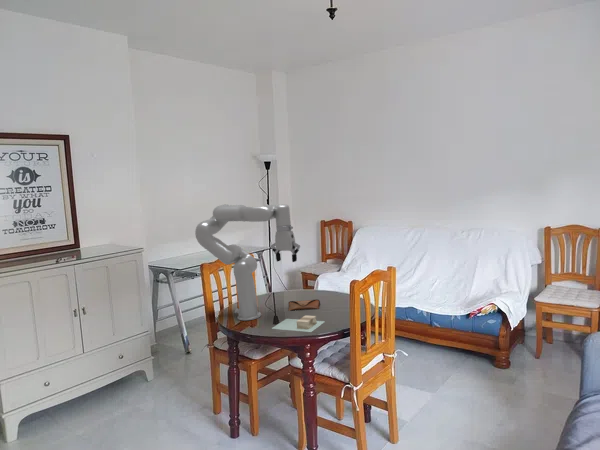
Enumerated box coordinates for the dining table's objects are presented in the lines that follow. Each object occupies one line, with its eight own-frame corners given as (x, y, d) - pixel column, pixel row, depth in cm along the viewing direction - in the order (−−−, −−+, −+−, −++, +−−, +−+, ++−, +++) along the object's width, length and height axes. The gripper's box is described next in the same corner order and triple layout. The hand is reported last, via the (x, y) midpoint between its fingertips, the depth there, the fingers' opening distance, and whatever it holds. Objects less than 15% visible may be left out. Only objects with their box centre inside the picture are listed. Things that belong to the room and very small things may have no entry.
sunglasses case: (287, 311, 251) (286, 299, 253) (288, 314, 257) (288, 302, 260) (320, 308, 249) (319, 296, 252) (321, 312, 256) (320, 300, 258)
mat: (271, 329, 224) (271, 328, 224) (286, 319, 237) (286, 318, 237) (311, 332, 213) (311, 332, 213) (325, 322, 226) (325, 321, 226)
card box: (305, 322, 228) (305, 315, 228) (316, 323, 225) (316, 316, 225) (297, 328, 220) (296, 321, 220) (308, 329, 218) (307, 322, 217)
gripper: (301, 227, 236) (304, 260, 238) (273, 227, 245) (276, 259, 247) (294, 229, 230) (297, 263, 232) (265, 229, 239) (268, 262, 241)
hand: (286, 261), depth 240 cm, fingers open, 9 cm apart
